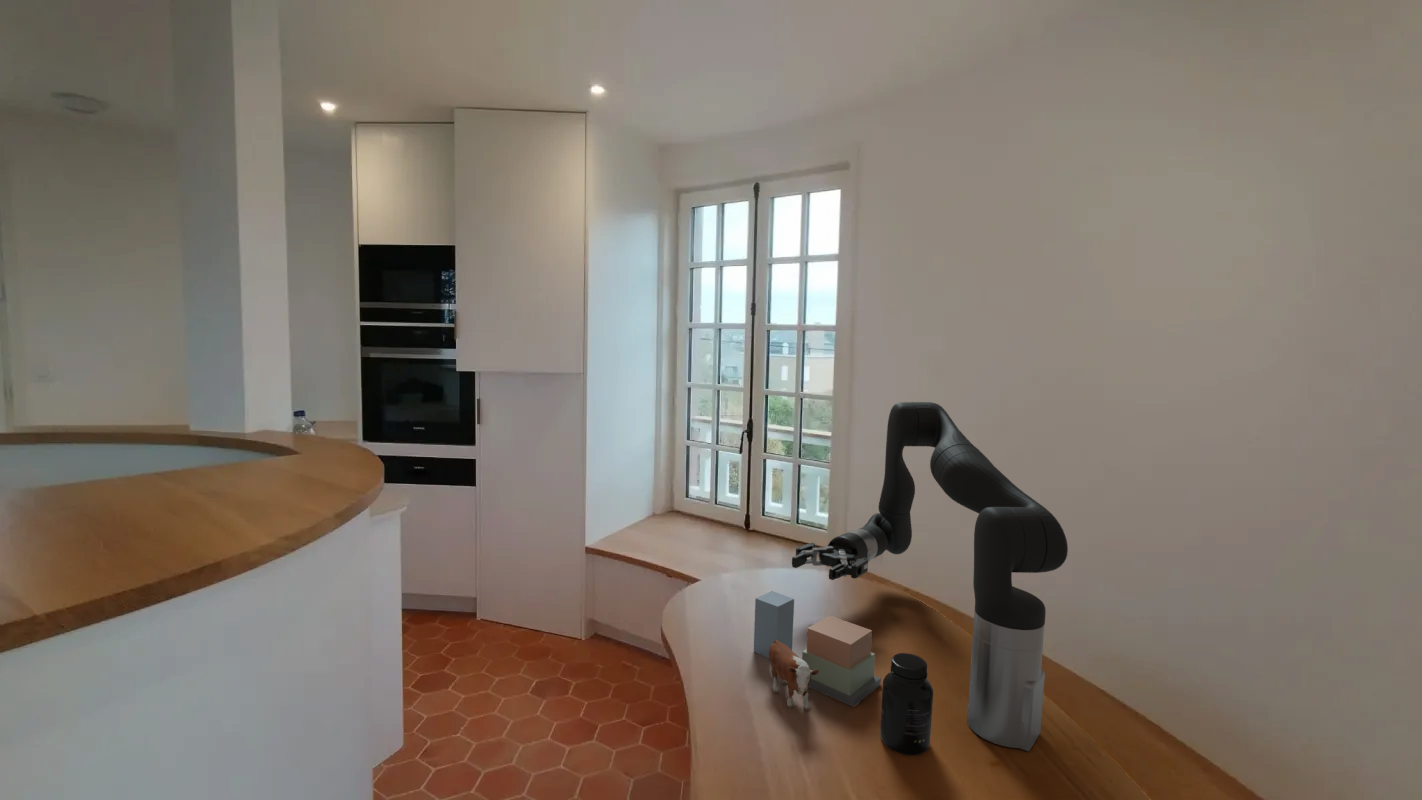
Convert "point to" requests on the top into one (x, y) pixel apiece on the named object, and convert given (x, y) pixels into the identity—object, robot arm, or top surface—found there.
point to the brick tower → (841, 660)
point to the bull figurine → (790, 672)
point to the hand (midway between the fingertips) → (811, 568)
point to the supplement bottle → (906, 706)
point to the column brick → (773, 621)
